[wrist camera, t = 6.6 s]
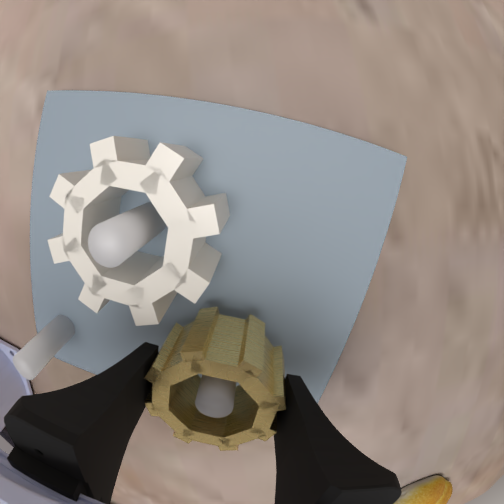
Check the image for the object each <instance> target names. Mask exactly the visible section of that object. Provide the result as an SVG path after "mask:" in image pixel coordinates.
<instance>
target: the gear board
mask: <svg viewBox="0 0 504 504" xmlns="http://www.w3.org/2000/svg"><path fill="white" fill-rule="evenodd" d="M111 136H120V137H128V138H137V139H144V140H148V145H149V151H150V157H151V156H152V154H153V152H154V151H155V149H156V148H157V146H158V144H159V143H160V142H162V143H169V144H175V145H182V146H186V147H187V148H189V149H190V150H192V151H193V152H195V153H196V154H198V155H199V156H201V157H202V158H204V159H203V160H202V162H201V163H200V165H199V166H198V168H197V169H196V171H195V172H194V174H193V175H192V176H193V178H194V180H195V181H196V183H197V184H198V186H199V187H200V189H201V190H202V192H203V193H204V195H205V196H210V195H216V194H221V193H226V196H227V201H228V207H229V212H230V217H229V218H228V220H227V222H226V224H225V225H224V227H223V229H222V231H221V233H220V234H217V235H211V236H206V241H205V242H206V243H207V244H208V245H210V246H211V247H213V248H214V249H216V250H217V251H219V252H220V253H222V255H221V257H220V260H219V262H218V264H217V267H216V269H215V272H214V274H213V277H212V279H211V281H210V284H209V285H208V286H207V288H206V289H205V291H204V292H203V293H202V295H201V296H200V298H199V299H198V300H197V302H196V303H195V304H194V303H193V302H191V301H190V300H188V299H187V298H185V297H184V296H182V295H181V294H179V293H177V294H176V296H175V298H174V299H173V301H172V303H171V304H170V306H169V308H168V309H167V311H166V313H165V314H164V316H163V318H162V320H161V321H160V323H159V324H154V325H142V326H136V325H135V322H134V319H133V316H132V313H131V310H130V307H129V305H125V304H122V303H119V302H115V301H112V300H110V301H109V302H108V303H107V304H106V305H105V306H104V307H103V308H102V309H101V310H100V311H99V312H98V313H95V312H94V311H93V310H91V309H90V308H89V307H87V306H86V305H85V304H84V303H82V302H81V301H80V300H78V298H79V296H80V293H81V291H82V289H83V286H84V284H85V283H84V281H83V280H82V278H81V277H80V275H79V274H78V272H77V271H76V269H75V268H74V266H73V265H72V263H71V262H70V261H66V262H61V263H56V264H54V262H53V258H52V255H51V251H50V248H49V244H48V240H49V239H51V238H53V237H55V236H57V235H60V234H62V233H63V223H64V208H63V207H61V206H60V205H59V204H58V203H57V202H55V201H54V200H53V199H52V198H50V197H49V196H50V194H51V191H52V189H53V187H54V184H55V182H56V180H57V177H58V175H59V174H62V173H69V172H77V171H85V170H92V169H93V168H94V167H93V162H92V156H91V150H90V144H91V143H94V142H96V141H99V140H102V139H105V138H108V137H111ZM406 160H407V157H406V156H404V155H401V154H399V153H396V152H393V151H391V150H388V149H385V148H383V147H380V146H377V145H374V144H371V143H368V142H366V141H363V140H360V139H357V138H354V137H351V136H347V135H344V134H341V133H338V132H335V131H331V130H328V129H325V128H321V127H318V126H314V125H311V124H307V123H303V122H299V121H296V120H292V119H288V118H284V117H280V116H276V115H271V114H267V113H262V112H258V111H253V110H248V109H244V108H239V107H233V106H228V105H223V104H217V103H211V102H205V101H198V100H192V99H185V98H177V97H169V96H160V95H150V94H140V93H127V92H110V91H78V90H62V91H47V94H46V99H45V103H44V108H43V112H42V117H41V123H40V128H39V134H38V140H37V147H36V154H35V162H34V170H33V181H32V193H31V211H30V264H31V282H32V294H33V305H34V314H35V321H36V329H37V335H35V336H34V337H33V338H32V339H31V340H30V341H29V342H28V343H27V344H26V345H25V346H24V347H23V348H22V349H21V350H20V351H18V352H17V353H16V354H15V355H14V356H13V363H14V366H15V368H16V369H17V371H18V372H19V373H20V374H21V375H22V376H23V377H24V378H26V379H28V380H33V379H34V378H35V377H36V376H37V374H38V373H39V372H40V371H41V370H42V369H43V368H44V367H45V365H46V364H47V363H48V362H49V361H50V360H51V359H52V358H53V357H55V358H57V359H59V360H62V361H64V362H66V363H69V364H71V365H74V366H76V367H78V368H81V369H83V370H86V371H88V372H91V373H94V374H96V375H98V374H99V373H101V372H103V371H105V370H106V369H108V368H110V367H111V366H113V365H114V364H116V363H117V362H119V361H120V360H122V359H123V358H124V357H126V356H127V355H129V354H130V353H131V352H133V351H134V350H135V349H136V348H138V347H139V346H140V345H142V344H143V343H144V342H148V343H151V344H155V345H159V349H158V352H159V351H160V349H161V347H162V345H163V343H164V342H165V340H166V338H167V336H168V334H169V333H170V331H171V330H172V328H173V327H174V325H175V324H176V322H177V323H178V324H180V325H181V326H183V327H184V326H186V325H187V324H189V323H191V322H193V321H195V319H196V317H197V314H198V312H199V310H200V309H203V308H210V307H218V310H219V313H220V314H222V315H226V316H231V317H235V318H240V319H246V318H247V317H248V315H249V314H251V315H253V316H255V317H256V318H258V319H259V320H261V321H263V322H264V323H265V336H266V337H267V339H268V340H269V341H270V343H271V344H272V345H273V347H274V346H281V345H282V350H283V356H284V368H285V377H286V375H287V374H291V375H298V376H301V378H302V379H303V381H304V383H305V384H306V386H307V388H308V390H309V391H310V393H311V394H312V396H313V398H314V399H315V401H316V402H317V403H318V401H319V399H320V397H321V395H322V393H323V391H324V389H325V387H326V385H327V383H328V381H329V379H330V377H331V375H332V373H333V370H334V368H335V366H336V364H337V362H338V360H339V357H340V355H341V353H342V351H343V348H344V346H345V344H346V342H347V339H348V337H349V335H350V332H351V330H352V327H353V325H354V322H355V320H356V318H357V315H358V313H359V310H360V308H361V305H362V302H363V300H364V297H365V295H366V292H367V289H368V286H369V284H370V281H371V278H372V275H373V273H374V270H375V267H376V264H377V261H378V258H379V255H380V252H381V249H382V246H383V243H384V240H385V237H386V234H387V230H388V227H389V224H390V220H391V217H392V214H393V210H394V207H395V203H396V199H397V196H398V192H399V188H400V184H401V181H402V177H403V173H404V169H405V164H406ZM167 233H168V227H167V225H166V224H165V222H164V221H163V219H162V218H161V216H160V214H159V213H158V211H157V210H156V208H155V207H154V205H153V204H152V202H151V201H150V199H149V198H148V196H147V194H146V193H144V192H139V191H134V190H129V191H127V192H126V193H125V194H124V195H122V196H121V203H120V211H119V215H117V216H115V217H112V218H110V219H108V220H106V221H104V222H101V223H99V224H97V225H96V226H94V227H93V228H92V230H91V231H90V233H89V237H88V248H89V251H90V253H91V255H92V257H93V258H94V260H95V261H96V262H97V263H98V264H100V265H102V266H104V267H108V268H113V267H117V266H119V265H120V264H121V263H123V262H124V261H125V260H126V259H128V258H129V257H130V256H131V255H133V254H134V253H135V252H136V251H139V252H143V253H147V254H151V255H155V256H160V257H162V256H164V253H165V246H166V240H167ZM198 375H199V376H200V377H201V380H200V384H199V388H198V392H197V396H196V400H195V405H196V408H197V409H198V410H199V411H200V412H201V413H202V414H204V415H206V416H209V417H213V418H221V417H225V416H227V415H229V414H230V413H231V412H232V411H233V407H234V398H235V389H236V386H238V385H240V384H239V383H238V382H234V381H229V380H224V379H220V378H215V377H211V376H207V375H202V374H198Z"/></svg>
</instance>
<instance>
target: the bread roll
mask: <svg viewBox="0 0 504 504" xmlns="http://www.w3.org/2000/svg"><path fill="white" fill-rule="evenodd" d="M401 491H402V494H401V496H400V497H399V499H398V500H397V501H396V502H395V503H394V504H446V503H447V502H448V500H449V498H450V497H451V494H452V484H451V483H450V482H449V481H447V480H445V479H444V478H443V477H442V476H439V475H434V476H431V477H427V478H425V479H422V480H420V481H417V482H414V483H412V484H409V485H407V486H406V487H404V488H402V489H401Z"/></svg>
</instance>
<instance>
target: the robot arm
mask: <svg viewBox="0 0 504 504" xmlns="http://www.w3.org/2000/svg"><path fill="white" fill-rule="evenodd" d="M158 349H159V345H155V344H151V343H148V342H144V343H143V344H142V345H140V346H139V347H138V348H136V349H135V350H134V351H133V352H131V353H130V354H129V355H127V356H126V357H124V358H123V359H122V360H120V361H119V362H117V363H116V364H114V365H113V366H111V367H110V368H108V369H106V370H105V371H103V372H101V373H99V374H98V375H96V376H94V377H92V378H90V379H88V380H85V381H83V382H81V383H78V384H75V385H73V386H70V387H67V388H64V389H60V390H56V391H52V392H47V393H42V394H35V395H33V393H32V389H31V386H30V382H29V380H28V379H26V378H24V377H23V376H22V375H21V374H20V373H19V372H18V371H17V369H16V368H15V366H14V363H13V356H14V355H15V354H16V353H17V352H18V351H20V350H19V349H17V348H16V347H14V346H12V345H10V344H8V343H6V342H5V341H3V340H1V339H0V432H1V431H2V429H3V428H4V427H5V426H6V429H7V431H8V433H9V435H10V437H11V439H12V441H13V443H14V445H15V447H14V448H13V450H12V452H11V453H10V454H7V453H6V452H4V451H3V450H1V449H0V504H110V501H111V497H112V493H113V489H114V486H115V482H116V479H117V475H118V472H119V469H120V465H121V462H122V459H123V456H124V453H125V450H126V447H127V444H128V442H129V439H130V437H131V434H132V432H133V430H134V428H135V426H136V424H137V422H138V420H139V418H140V416H141V414H142V412H143V410H144V408H145V406H146V405H145V403H144V402H145V400H146V398H147V396H148V394H149V392H150V390H151V388H152V383H151V382H149V381H147V380H146V379H144V378H145V376H146V374H147V372H148V371H149V369H150V367H151V365H152V363H153V362H154V360H155V358H156V356H157V354H158ZM285 390H286V410H282V411H277V432H276V433H275V434H274V442H275V454H276V469H277V474H276V493H275V504H394V503H395V502H396V501H397V500H398V499H399V497H400V496H401V494H402V491H401V488H400V484H399V481H398V479H397V476H396V474H395V473H393V472H391V471H390V470H388V469H386V468H384V467H382V466H381V465H379V464H377V463H376V462H374V461H373V460H371V459H370V458H368V457H367V456H366V455H364V454H363V453H362V452H360V451H359V450H358V449H357V448H356V447H354V446H353V445H352V444H351V443H350V442H349V441H348V440H347V439H346V438H345V437H344V436H343V435H342V434H341V433H340V432H339V431H338V430H337V429H336V428H335V427H334V426H333V424H332V423H331V422H330V421H329V419H328V418H327V417H326V415H325V414H324V413H323V411H322V410H321V408H320V407H319V405H318V404H317V402H316V401H315V399H314V398H313V396H312V394H311V393H310V391H309V390H308V388H307V386H306V384H305V383H304V381H303V379H302V378H301V376H298V375H291V374H287V375H286V377H285Z"/></svg>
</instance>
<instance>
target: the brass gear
mask: <svg viewBox="0 0 504 504" xmlns="http://www.w3.org/2000/svg"><path fill="white" fill-rule="evenodd" d="M198 374H202V375H207V376H211V377H215V378H220V379H224V380H229V381H234V382H238V383H239V384H240V385H238V386H236V389H235V398H234V407H233V411H232V412H231V413H230V414H229V415H227V416H225V417H221V418H213V417H209V416H206V415H204V414H202V413H201V412H200V411H199V410H198V409H197V408H196V405H195V400H196V396H197V392H198V388H199V384H200V380H201V377H200V376H199V375H198ZM144 379H146V380H147V381H149V382H151V383H152V388H151V390H150V392H149V394H148V396H147V398H146V400H145V402H144V403H145V405H146V407H147V409H148V411H149V413H150V415H151V416H159V417H160V418H161V419H162V420H164V421H165V422H166V423H167V424H168V425H169V426H170V427H171V428H172V429H173V430H174V433H173V436H175V437H177V438H179V439H181V440H183V441H185V442H187V443H190V442H191V441H192V440H194V441H198V442H202V443H207V444H211V445H216V446H218V447H219V449H220V451H223V450H238V445H239V444H242V443H245V442H248V441H251V440H254V439H257V438H258V439H261V440H263V441H266V440H268V439H269V438H270V437H271V436H273V435H274V434H275V433H276V432H277V411H282V410H286V390H285V368H284V356H283V350H282V345H281V346H274V347H273V345H272V344H271V343H270V341H269V340H268V339H267V337H266V336H265V323H264V322H263V321H261V320H259V319H258V318H256V317H255V316H253V315H251V314H249V315H248V317H247V318H246V319H240V318H235V317H231V316H226V315H222V314H220V313H219V310H218V307H210V308H203V309H200V310H199V312H198V314H197V317H196V319H195V321H193V322H191V323H189V324H187V325H186V326H184V327H183V326H181V325H180V324H178V323H177V322H176V324H175V325H174V327H173V328H172V330H171V331H170V333H169V334H168V336H167V338H166V340H165V342H164V343H163V345H162V347H161V349H160V351H159V352H158V354H157V356H156V358H155V360H154V362H153V363H152V365H151V367H150V369H149V371H148V372H147V374H146V376H145V378H144Z"/></svg>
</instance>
